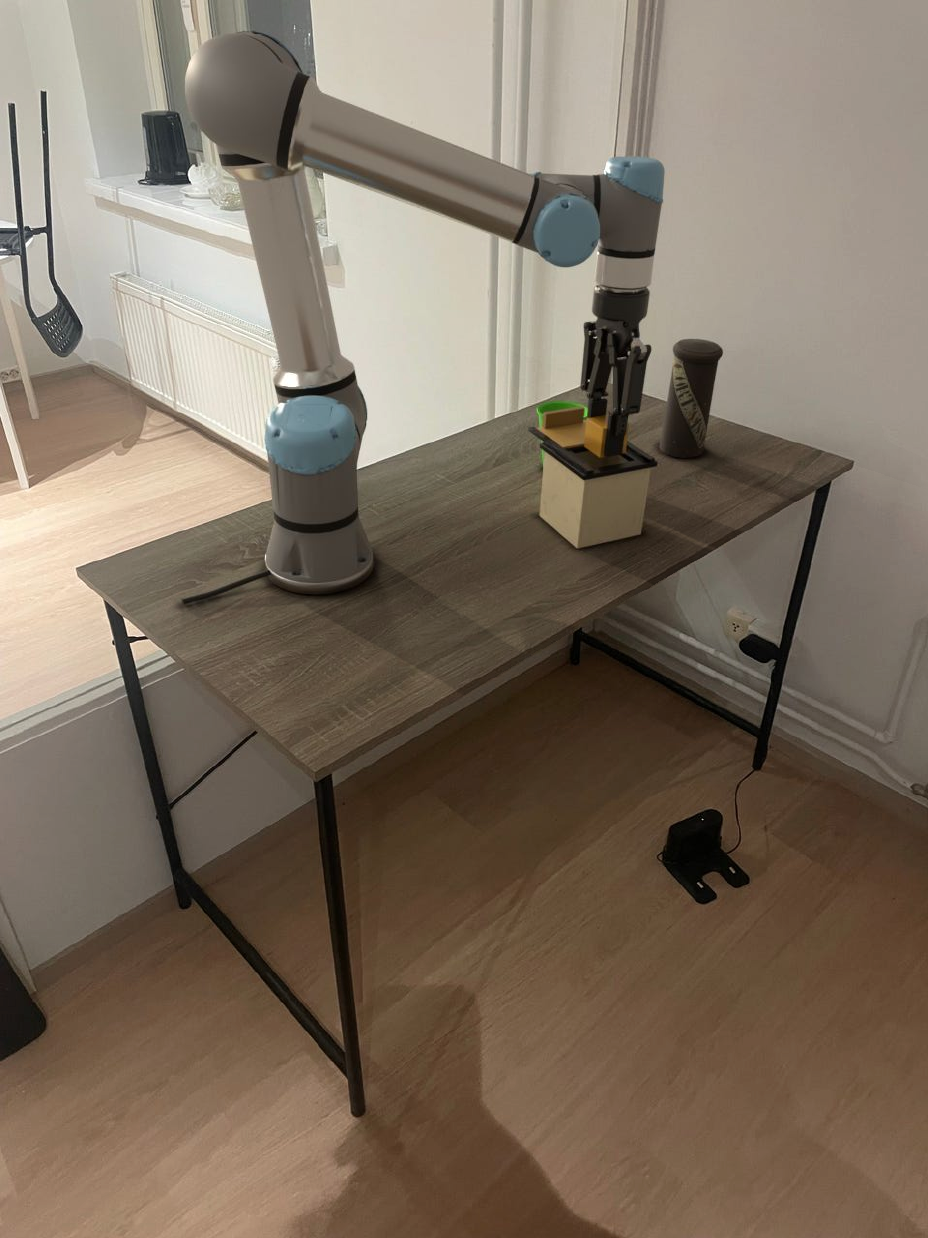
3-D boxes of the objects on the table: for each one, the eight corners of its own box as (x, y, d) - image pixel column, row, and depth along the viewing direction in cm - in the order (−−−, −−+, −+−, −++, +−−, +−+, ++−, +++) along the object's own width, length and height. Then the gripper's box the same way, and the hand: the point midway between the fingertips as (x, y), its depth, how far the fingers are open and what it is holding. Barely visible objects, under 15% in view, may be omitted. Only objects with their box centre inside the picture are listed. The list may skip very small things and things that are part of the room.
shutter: (562, 449, 137) (564, 431, 135) (536, 429, 143) (537, 412, 141) (613, 440, 140) (615, 423, 139) (584, 421, 146) (586, 405, 145)
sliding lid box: (575, 551, 136) (584, 471, 129) (520, 502, 149) (525, 427, 142) (646, 535, 141) (658, 457, 134) (586, 489, 154) (594, 416, 147)
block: (600, 457, 133) (603, 428, 130) (583, 446, 136) (586, 417, 134) (625, 452, 135) (629, 423, 132) (609, 441, 138) (612, 413, 135)
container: (654, 455, 167) (671, 346, 156) (660, 437, 174) (676, 332, 163) (702, 462, 165) (722, 352, 154) (706, 443, 172) (726, 337, 161)
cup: (585, 481, 157) (592, 420, 151) (533, 479, 157) (537, 419, 151) (581, 459, 164) (587, 401, 158) (531, 458, 164) (535, 399, 158)
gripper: (684, 299, 117) (658, 466, 130) (609, 268, 130) (593, 423, 143) (636, 305, 114) (614, 475, 127) (564, 273, 127) (551, 430, 140)
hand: (603, 447), depth 135 cm, fingers closed on block, 4 cm apart
